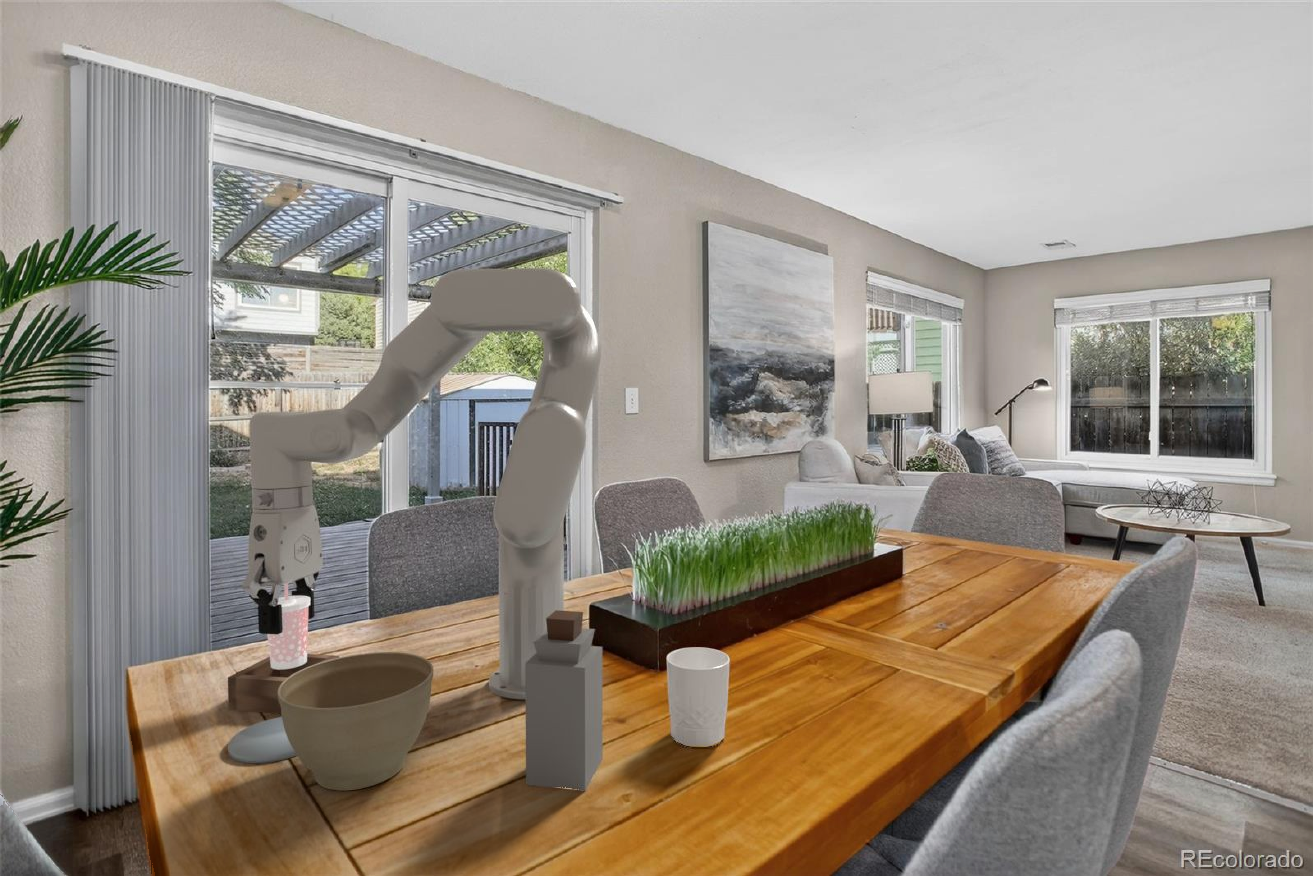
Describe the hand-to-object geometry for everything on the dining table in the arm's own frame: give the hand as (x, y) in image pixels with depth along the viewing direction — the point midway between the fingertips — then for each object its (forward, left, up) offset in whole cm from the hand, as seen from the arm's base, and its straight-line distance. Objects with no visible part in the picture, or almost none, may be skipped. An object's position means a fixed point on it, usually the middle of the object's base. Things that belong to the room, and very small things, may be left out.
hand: (287, 624), depth 100 cm
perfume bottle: (-45, +14, -11) cm, 48 cm away
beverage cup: (0, 0, -6) cm, 6 cm away
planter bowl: (-21, +17, -11) cm, 29 cm away
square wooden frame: (0, 0, -10) cm, 11 cm away
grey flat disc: (-8, +12, -10) cm, 18 cm away
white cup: (-59, +3, -11) cm, 60 cm away
